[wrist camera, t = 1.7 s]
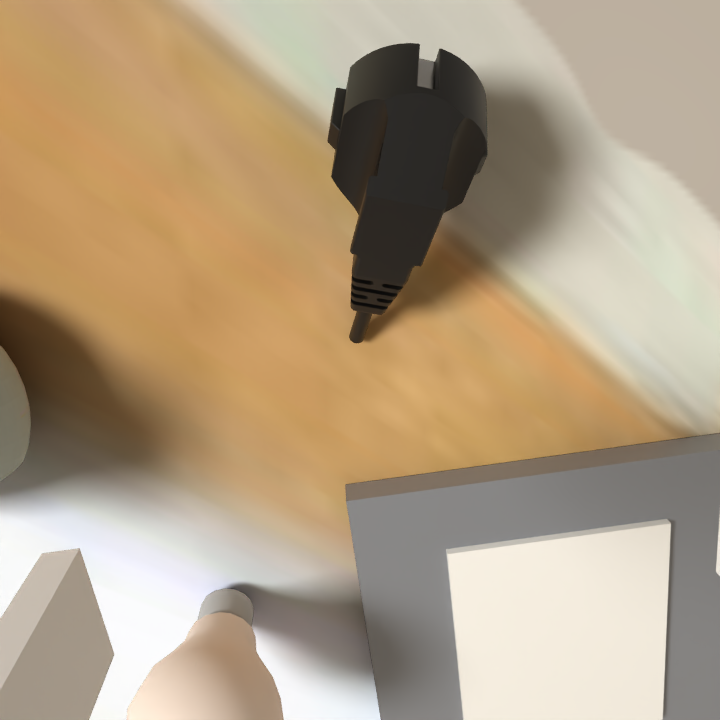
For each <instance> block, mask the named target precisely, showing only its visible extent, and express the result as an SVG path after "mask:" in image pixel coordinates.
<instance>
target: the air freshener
mask: <svg viewBox="0 0 720 720" xmlns="http://www.w3.org/2000/svg"><path fill="white" fill-rule="evenodd" d="M30 430H31V418H30V405H29V402H28V398H27V394H26V390H25V387H24V384H23V382H22V380H21V377H20V375H19V373H18V371H17V369H16V367H15V365H14V364H13V362H12V361H11V359H10V358H9V356H8V354H7V353H6V351H5V350H4V349H3V348H2V347H1V345H0V481H2V480H3V479H5V478H6V477H7V476H9V475H10V474H11V473H12V472H14V471H15V470H16V469H17V468H18V467H19V466H20V465H21V464H22V463H23V461H24V458H25V455H26V452H27V449H28V446H29V439H30Z"/></svg>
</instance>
